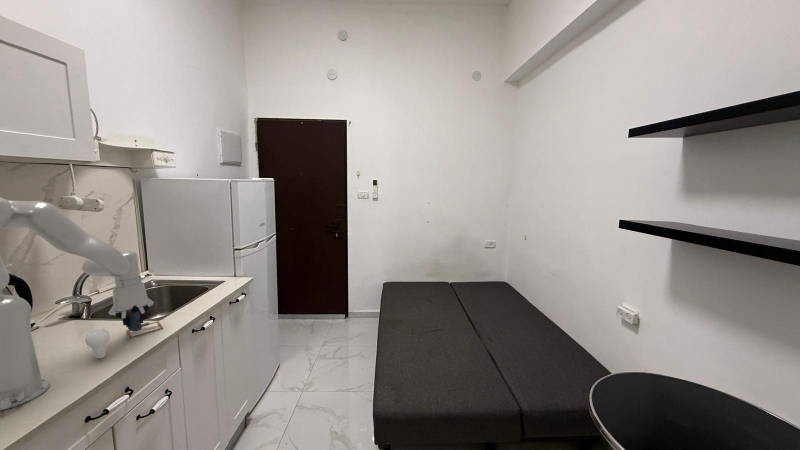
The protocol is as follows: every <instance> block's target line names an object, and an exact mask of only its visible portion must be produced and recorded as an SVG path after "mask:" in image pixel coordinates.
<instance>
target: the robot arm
mask: <svg viewBox="0 0 800 450" xmlns="http://www.w3.org/2000/svg"><path fill="white" fill-rule="evenodd" d="M1 228H22V229H23V228H28V229H30V230H31V231H33V232H34V233H35V234H37V235H38V237H41V239H43V240H45V241H46V242H48V244H50V245H51V246H52V247H54V248H55V249H57V250H59V251H61V252H64V253H68V254H71V255H75V256H78V257H82V258H85V259H86V260H85V261H84V262H83V263H82V265H81V270H82V271H83V273H84V274H86V275H88V276H91V277H92V276H93V277H109V278H114V284H115V286H113V287H112V303H113V305H112V306H111V307H110V310H109V311H108V315H110V316H116V317H118V318H121V319H122V324H123V326H125V327H126V328H128V327H129V324H128V318H127V316H126V315H127V311H129V310H131V309H132V308H133V309H134V307H133V306H135V305H137V306H136V307H138V308H139V313H140V320H141V324H144V321H145V320H146V319H145V312H146V311H147V310H148V309H149V308H151V306H153V305H154V304H155V303H154V301H153V300H152V299H150V298H149V297H148V294H147V289H146V287H145V284H144V282H143V280H145V279H146V276H145V275H140V267H139V261H138V253H136V251H135V250H134V251H133V250H125V251H119V249H117V248H116V247H114V246H113V245H111V244H110V243H107V242H106V241H104V240H102V239H100V238H98V237H96V236H93V235H92V234H89V233H88V232H86V231H85V230H84V229H83V228H81V227H80V226H79V225H78V224H76V222H74V220H72V219H71V218H69V217H68V216H67V215H66V214H65V213H64V212H63V211H61V210H60V209H59V208H58V207H57V206H56V205H54V204H51V203H50V202H46V201H39V200H29V201H28V200H9V199H6V198H3V197H2V196H1V197H0V229H1ZM9 283H10V274H9V271H8V269H7V267H6V265H5V263H4V261H3V259H2V256H1V255H0V291H2V290H3V289H5V288H6V287H7V286H8V284H9ZM136 307H135V308H136ZM31 318H32V306H31V305H30V303H29V301H27V299H24V298H22V297H20V296H16V295H13V294H0V411H5V410H8V409H11V408H14V407H17V406H20V405H23V404H24V403H25V404H26V403H27V402H29V401H31V400H34V399H35V398H37V397H39V396H41V395H42V394H43V393H45V392H47V390H49V388H50V387H51V384H52V383H51V380H50V379H48V378H42V376H41V371H40V366H39V362H38V357H37V352H36V347H35V344H34V338H33V335H32V334H33V333H32V326H31V320H32V319H31Z"/></svg>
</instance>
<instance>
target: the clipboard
mask: <svg viewBox="0 0 800 450" xmlns="http://www.w3.org/2000/svg"><path fill="white" fill-rule="evenodd" d="M141 326H142V329H141V330H139V331H129V329H126V330H125V332H126V335H127V338H128V340H131V339H134V338H138V337H141V336H144V335H148V334H150V333H155V332H159V331H161V330H164V327H163V325H162V324H161V322H160V321H158V320H157V321H153V322H151V323H150V322H149V321H148V322H145V323H144V322H143V323H141ZM160 329H161V330H160Z"/></svg>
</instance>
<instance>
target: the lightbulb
mask: <svg viewBox="0 0 800 450" xmlns="http://www.w3.org/2000/svg"><path fill="white" fill-rule="evenodd" d="M109 340H110V332H109V331H108V330H106V329H104V328H99V329H98V328H97V329H93V330H92V331H89V332H88V334H87V335H86V337H85V339H84V341H85V344H86V345H87V347H90V348H91V349H92V352H93V354H94V356H95V358H96V359H103V358H105V356H106V354H107V353H106V352H107V344H108V342H109Z"/></svg>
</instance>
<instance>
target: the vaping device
mask: <svg viewBox="0 0 800 450" xmlns="http://www.w3.org/2000/svg"><path fill="white" fill-rule="evenodd" d="M136 306H137V305H135V306H133V307H134V309H133V308H132V309H131V310H126V316H127V318H128V324H129V327H127V330H129V331H139V330H141V329H142V326H141V324H142V323H141V320H140V313H139V311H140V310H139V308H138V307H136ZM135 307H136V308H135Z"/></svg>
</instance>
